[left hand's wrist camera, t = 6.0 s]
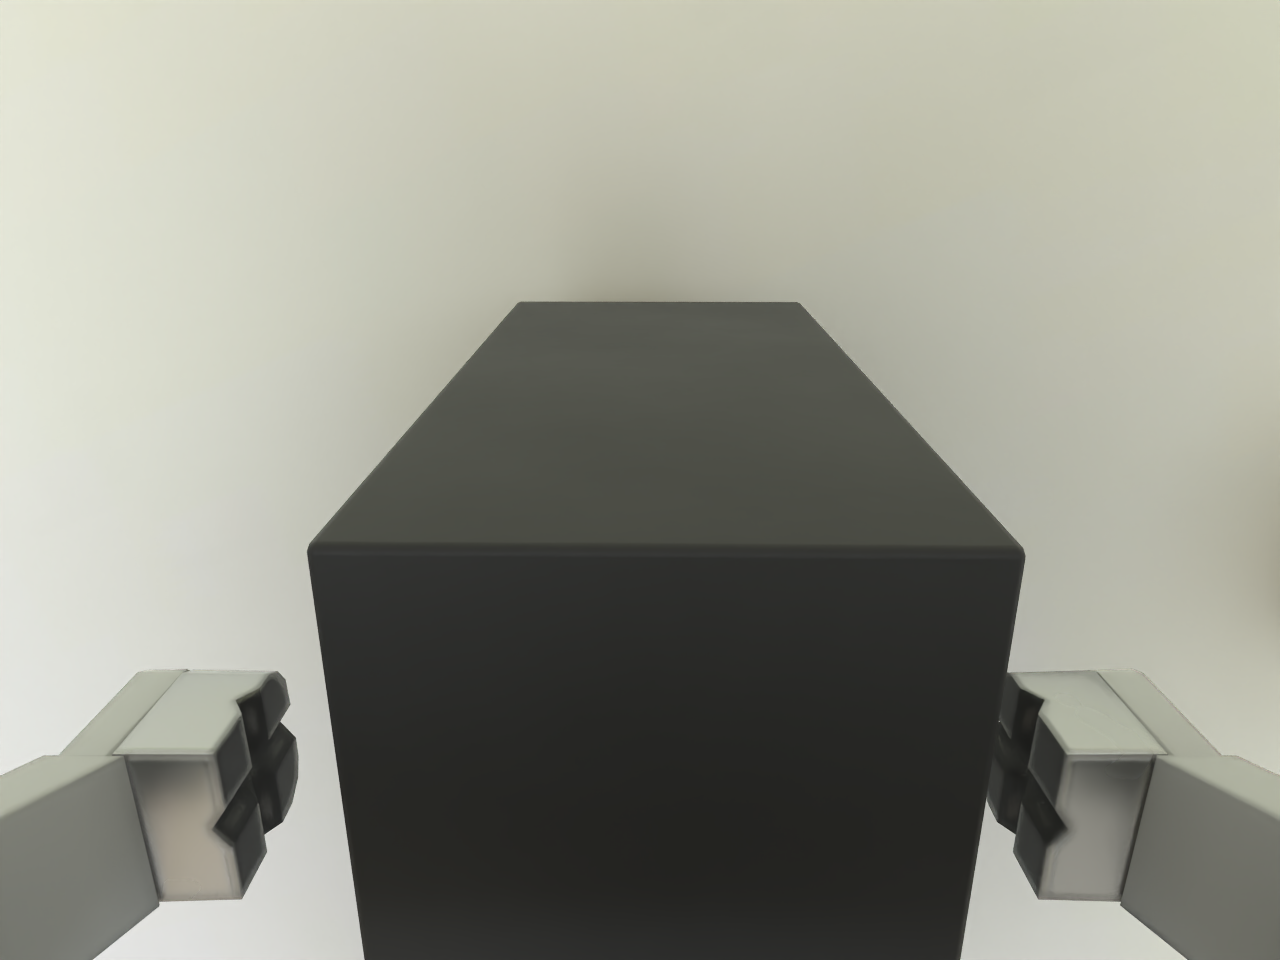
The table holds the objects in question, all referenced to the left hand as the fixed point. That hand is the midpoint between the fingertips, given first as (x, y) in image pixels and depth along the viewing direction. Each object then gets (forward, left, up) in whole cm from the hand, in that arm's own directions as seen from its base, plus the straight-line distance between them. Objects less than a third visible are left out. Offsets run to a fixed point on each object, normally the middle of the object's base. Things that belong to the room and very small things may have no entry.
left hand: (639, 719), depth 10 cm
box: (+10, +3, -10) cm, 14 cm away
